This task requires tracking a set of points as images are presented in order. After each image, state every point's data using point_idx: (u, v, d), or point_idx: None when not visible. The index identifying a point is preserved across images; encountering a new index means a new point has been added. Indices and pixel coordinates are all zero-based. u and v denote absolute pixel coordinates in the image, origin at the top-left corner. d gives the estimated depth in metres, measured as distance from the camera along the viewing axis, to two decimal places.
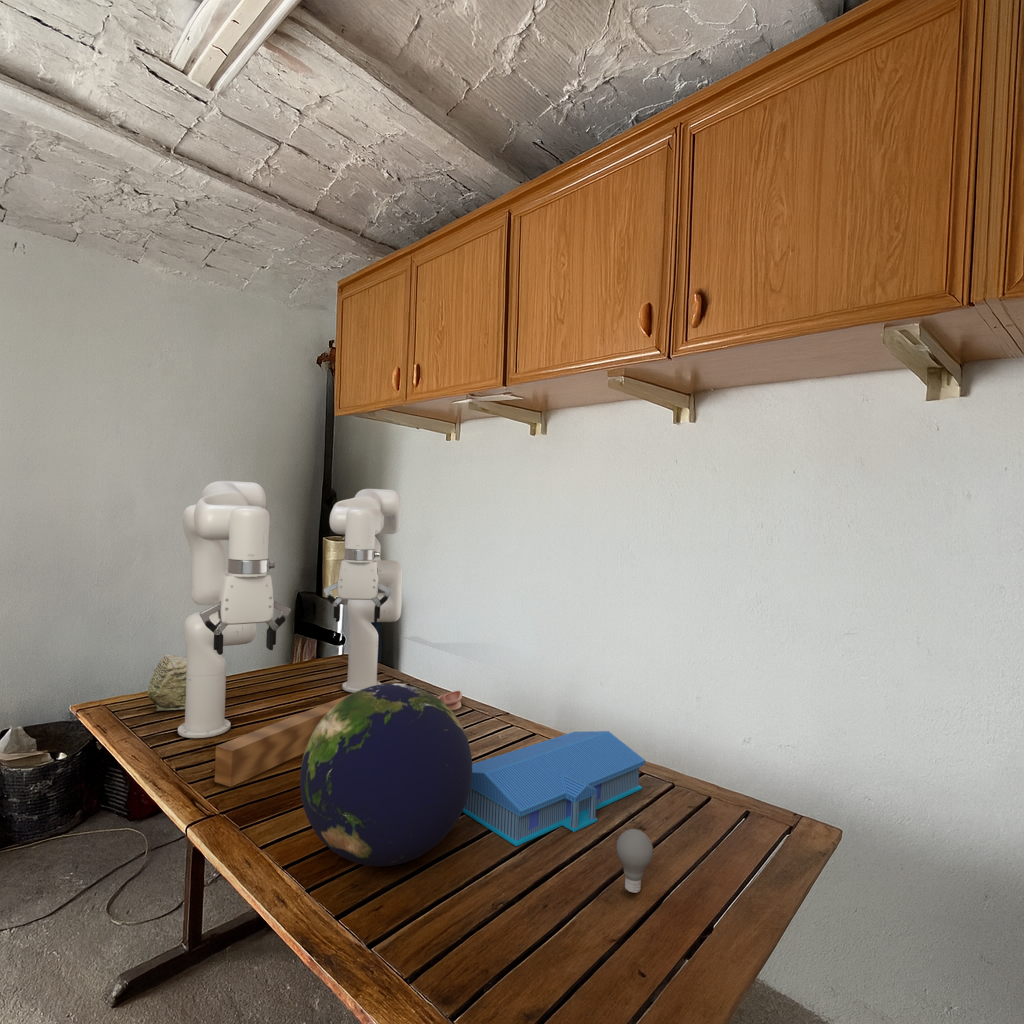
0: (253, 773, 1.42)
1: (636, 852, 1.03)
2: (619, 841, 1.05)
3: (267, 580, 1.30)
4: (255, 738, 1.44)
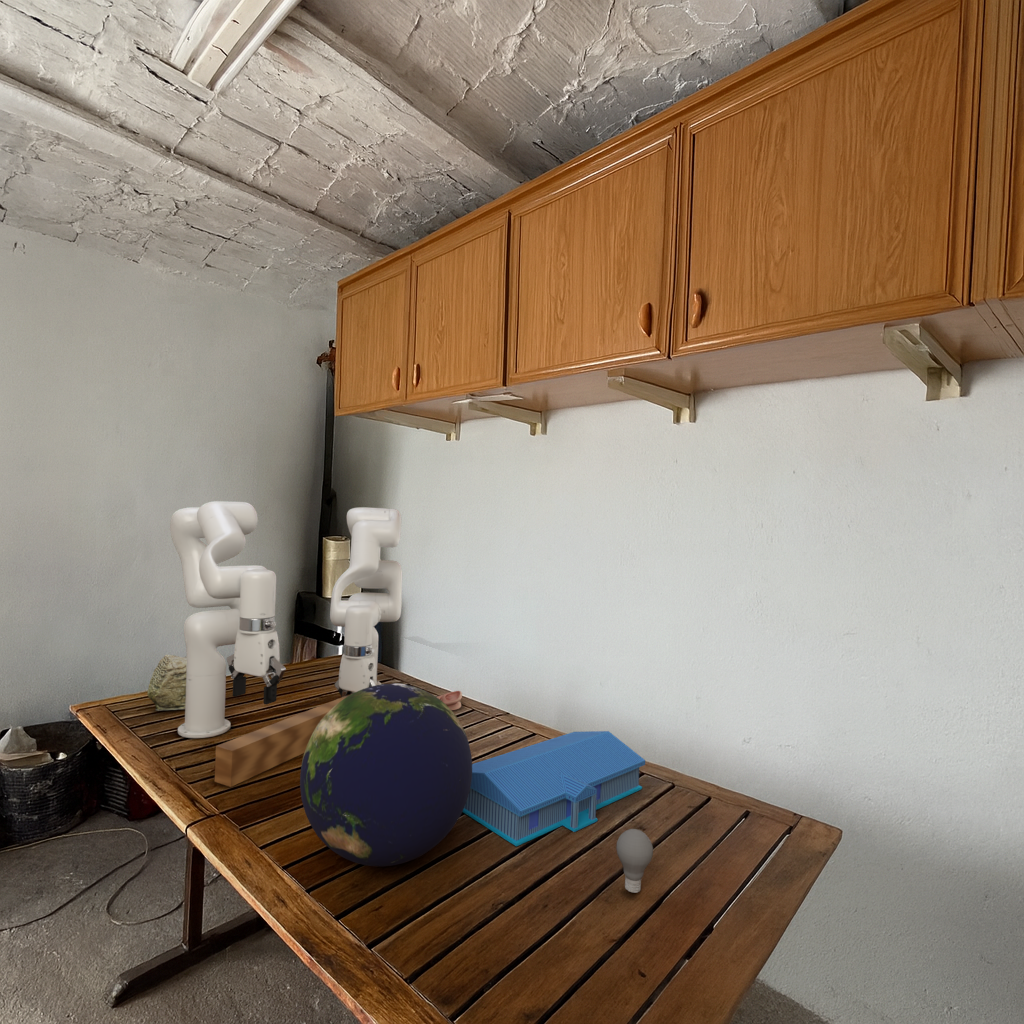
0: (253, 773, 1.42)
1: (636, 852, 1.03)
2: (619, 841, 1.05)
3: (260, 638, 1.40)
4: (255, 738, 1.44)
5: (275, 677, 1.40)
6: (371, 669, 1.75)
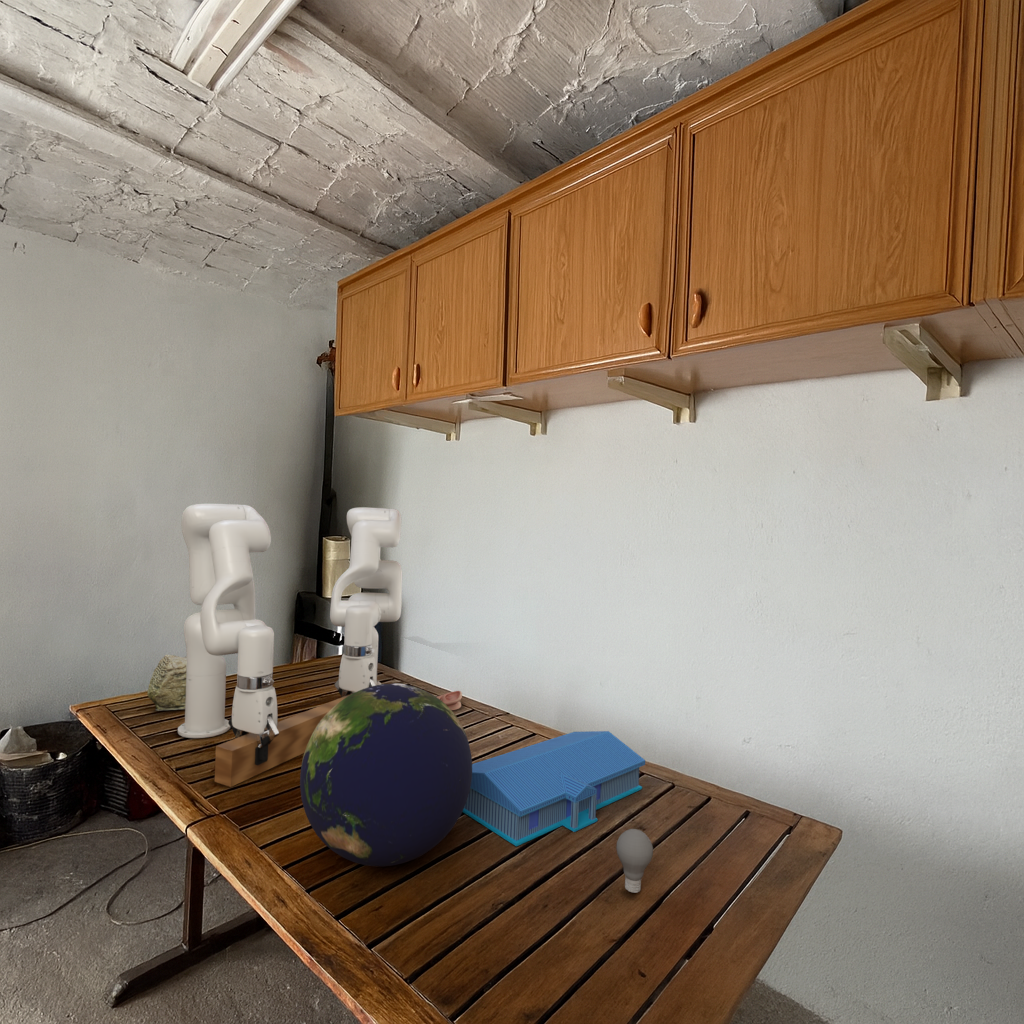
0: (253, 773, 1.42)
1: (636, 852, 1.03)
2: (619, 841, 1.05)
3: (258, 696, 1.41)
4: (255, 738, 1.44)
5: (266, 738, 1.41)
6: (371, 669, 1.75)
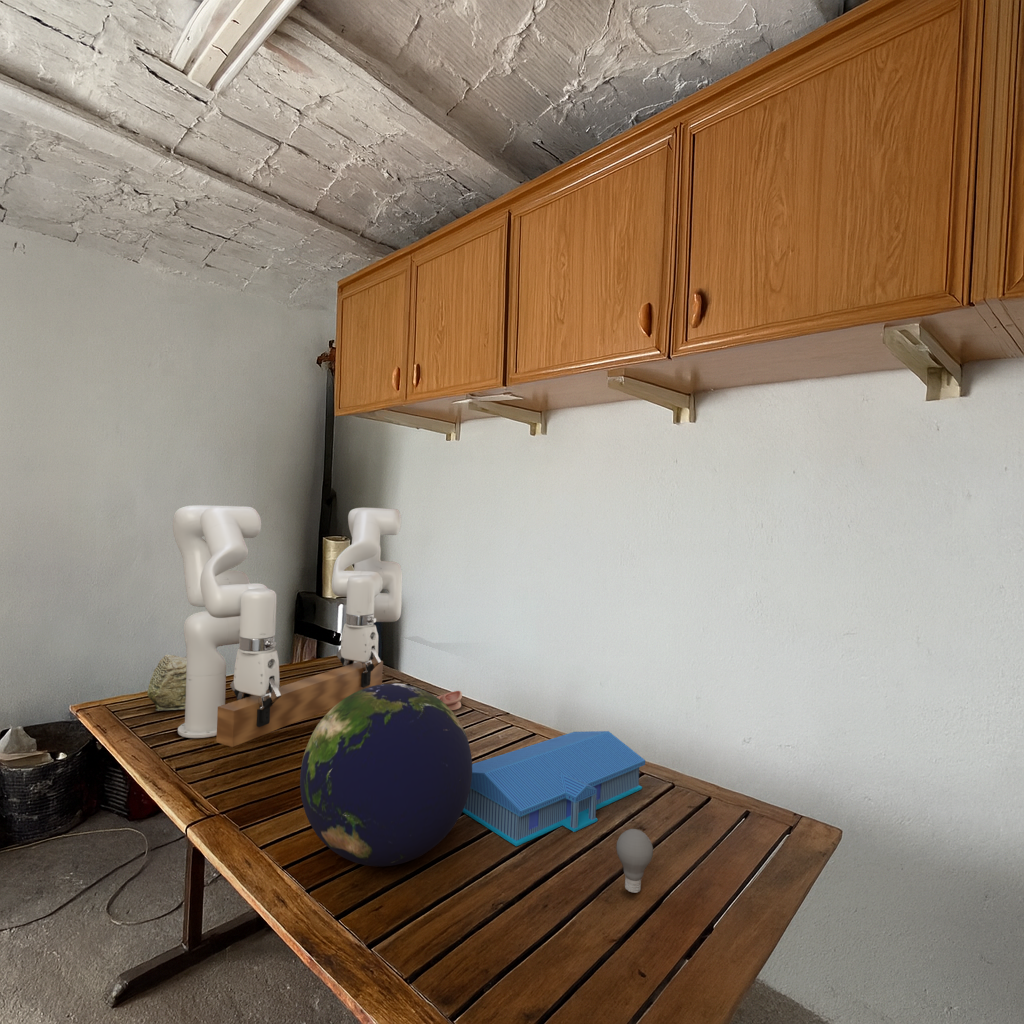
0: (255, 735, 1.42)
1: (636, 852, 1.03)
2: (619, 841, 1.05)
3: (260, 658, 1.41)
4: (257, 700, 1.44)
5: (268, 700, 1.41)
6: (373, 638, 1.75)
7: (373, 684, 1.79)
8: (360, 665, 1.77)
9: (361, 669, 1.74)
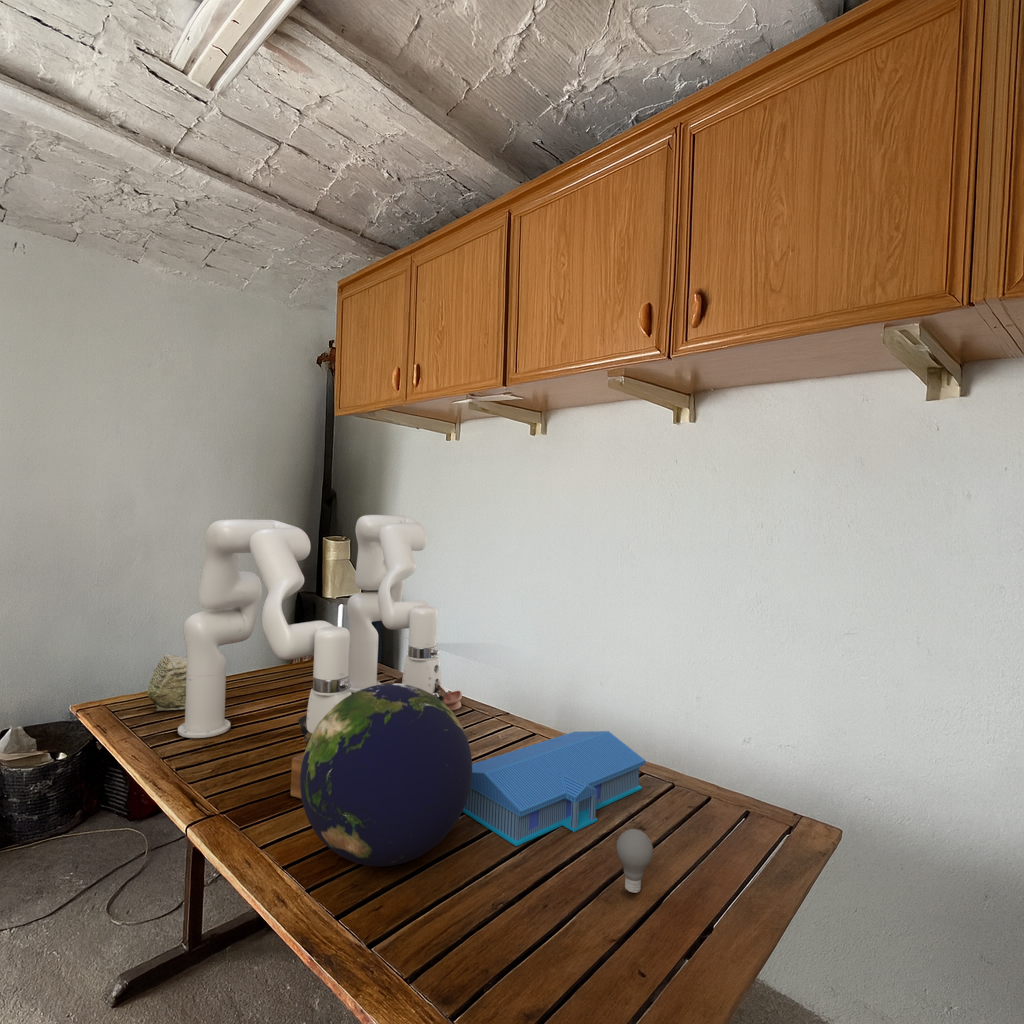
0: None
1: (636, 852, 1.03)
2: (619, 841, 1.05)
3: (335, 700, 1.36)
4: None
5: None
6: (436, 671, 1.70)
7: None
8: None
9: None
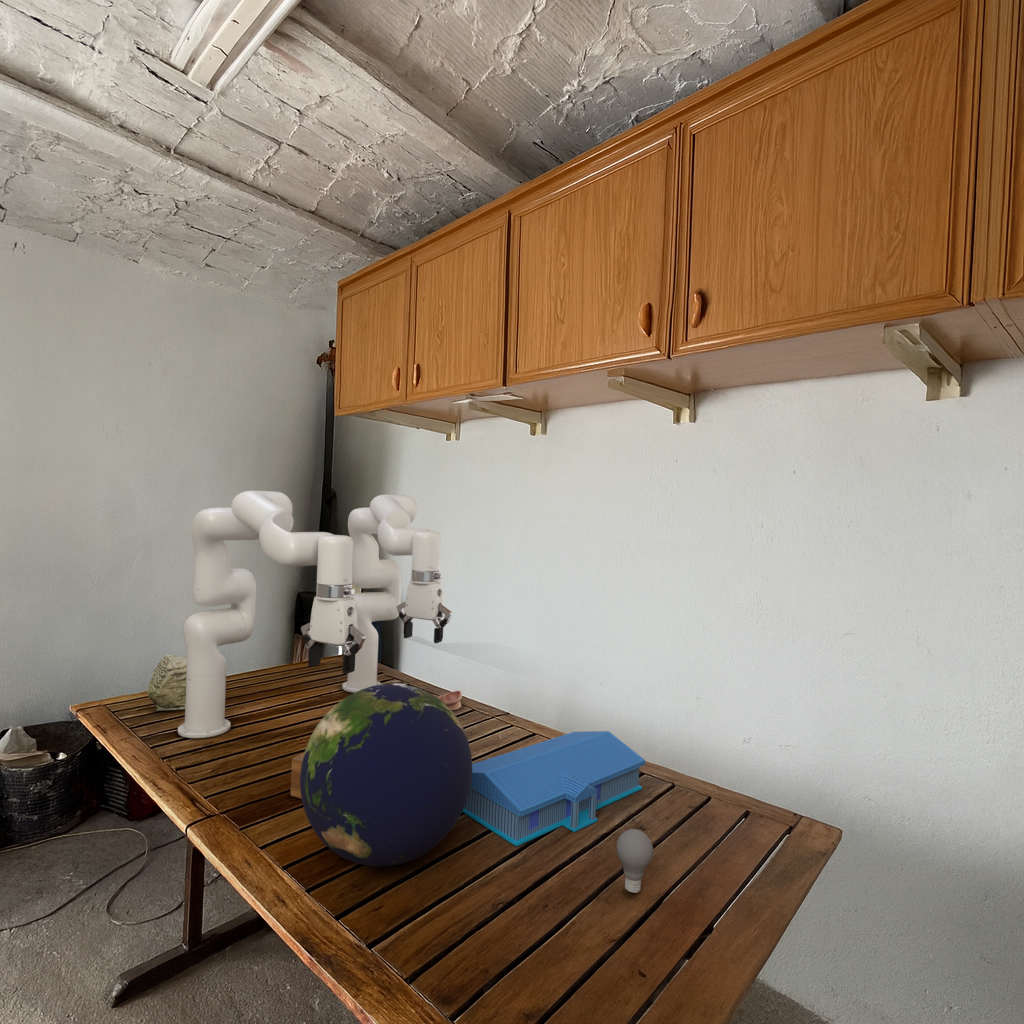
0: None
1: (636, 852, 1.03)
2: (619, 841, 1.05)
3: (339, 605, 1.35)
4: None
5: (355, 645, 1.35)
6: (439, 596, 1.70)
7: None
8: None
9: None
